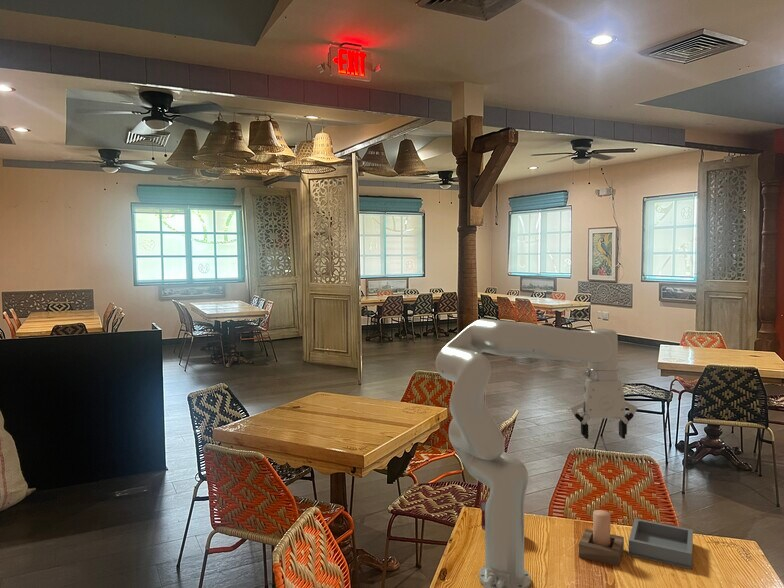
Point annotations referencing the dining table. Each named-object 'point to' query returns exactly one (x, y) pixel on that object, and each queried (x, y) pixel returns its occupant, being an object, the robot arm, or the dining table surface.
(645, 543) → the tray
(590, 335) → the robot arm
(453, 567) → the dining table surface
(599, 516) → the dowel
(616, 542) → the collar block
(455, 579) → the dining table surface
